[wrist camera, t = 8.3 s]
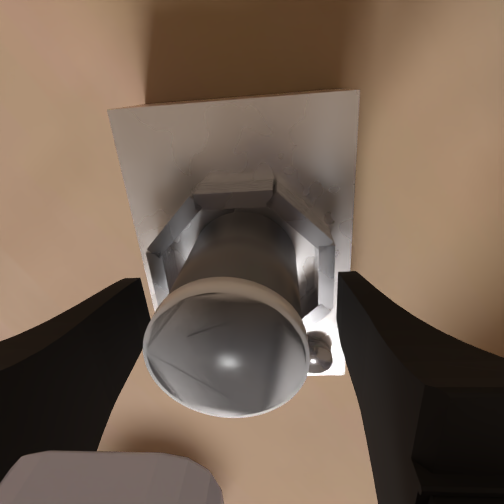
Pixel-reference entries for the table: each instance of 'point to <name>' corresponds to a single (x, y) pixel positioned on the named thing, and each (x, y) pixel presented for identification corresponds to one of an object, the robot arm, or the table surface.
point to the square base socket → (248, 187)
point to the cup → (232, 322)
